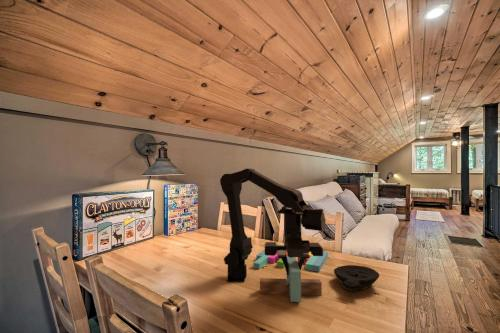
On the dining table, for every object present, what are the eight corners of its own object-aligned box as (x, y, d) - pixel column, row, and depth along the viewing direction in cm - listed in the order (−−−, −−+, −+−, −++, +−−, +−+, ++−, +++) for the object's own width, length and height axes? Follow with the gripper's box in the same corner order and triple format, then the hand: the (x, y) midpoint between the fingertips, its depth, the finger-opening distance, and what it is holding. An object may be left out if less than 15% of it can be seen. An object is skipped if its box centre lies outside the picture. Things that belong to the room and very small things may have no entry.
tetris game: (272, 249, 127) (247, 268, 102) (272, 243, 127) (247, 261, 102) (328, 257, 114) (314, 281, 89) (328, 251, 114) (314, 274, 89)
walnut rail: (259, 293, 79) (259, 281, 79) (260, 290, 82) (260, 278, 82) (321, 295, 78) (321, 282, 78) (320, 291, 80) (319, 279, 81)
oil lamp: (324, 292, 80) (324, 277, 80) (339, 272, 96) (339, 259, 96) (374, 306, 71) (374, 289, 72) (382, 281, 88) (381, 267, 88)
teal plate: (286, 280, 87) (286, 255, 87) (294, 280, 87) (294, 255, 87) (291, 301, 73) (290, 271, 73) (301, 301, 73) (300, 271, 73)
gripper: (264, 233, 73) (264, 285, 72) (327, 234, 72) (328, 287, 71) (264, 225, 84) (264, 270, 83) (318, 225, 83) (319, 271, 82)
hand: (292, 274), depth 80 cm, fingers closed on teal plate, 3 cm apart
